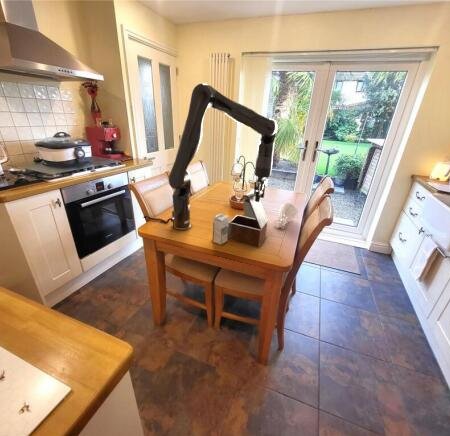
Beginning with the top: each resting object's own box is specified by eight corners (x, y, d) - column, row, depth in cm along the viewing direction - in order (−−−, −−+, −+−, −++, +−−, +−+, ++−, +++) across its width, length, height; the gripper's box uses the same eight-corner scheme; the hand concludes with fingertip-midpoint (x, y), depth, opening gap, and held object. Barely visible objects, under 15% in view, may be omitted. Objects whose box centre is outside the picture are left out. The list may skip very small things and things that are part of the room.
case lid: (246, 195, 111) (255, 192, 108) (254, 188, 121) (263, 185, 118) (259, 229, 115) (269, 227, 112) (266, 220, 124) (275, 218, 122)
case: (227, 238, 126) (228, 222, 122) (236, 230, 135) (237, 214, 131) (258, 247, 119) (260, 230, 115) (265, 237, 129) (267, 221, 124)
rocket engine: (281, 215, 132) (290, 200, 144) (266, 222, 140) (276, 207, 153) (293, 231, 134) (301, 214, 146) (277, 237, 142) (286, 220, 155)
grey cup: (257, 221, 146) (258, 204, 141) (241, 219, 148) (242, 202, 143) (258, 215, 155) (260, 198, 150) (243, 213, 157) (244, 196, 152)
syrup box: (219, 237, 127) (220, 213, 121) (228, 241, 123) (229, 216, 117) (212, 241, 123) (212, 216, 117) (220, 245, 119) (221, 219, 113)
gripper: (260, 161, 115) (257, 194, 123) (250, 167, 103) (247, 202, 111) (275, 164, 112) (270, 196, 120) (266, 170, 101) (262, 205, 108)
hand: (259, 199), depth 115 cm, fingers closed on case lid, 6 cm apart
